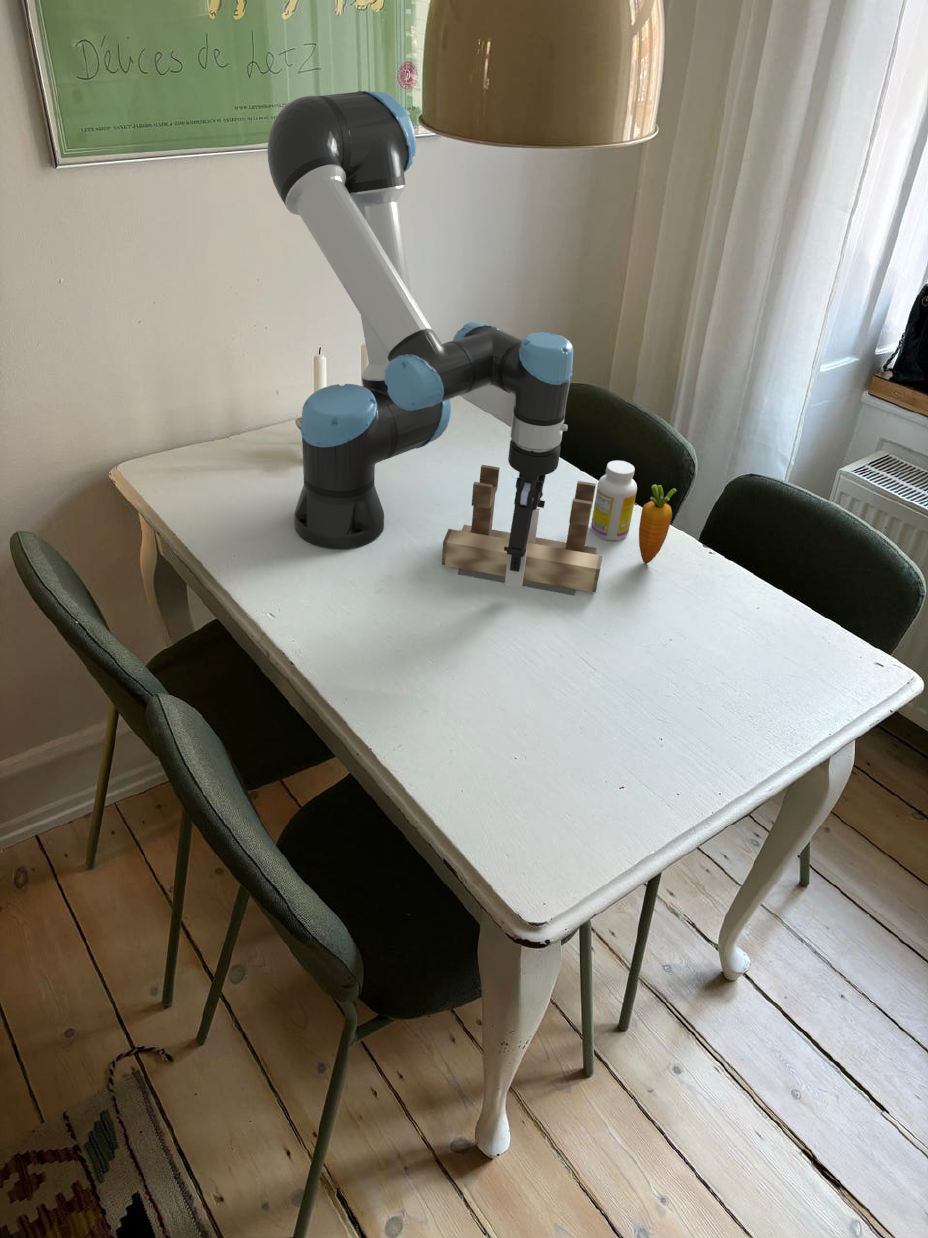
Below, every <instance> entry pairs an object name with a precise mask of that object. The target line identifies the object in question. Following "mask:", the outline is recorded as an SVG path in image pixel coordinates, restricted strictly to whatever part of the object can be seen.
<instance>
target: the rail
mask: <svg viewBox="0 0 928 1238" xmlns="http://www.w3.org/2000/svg"><path fill="white" fill-rule="evenodd" d="M508 544H509V539H504V538H498V537H493V536H487V535H481V534H476V533H470V532H464V531H461V530H457V529H452V528H448V529H447V532H446V533H445V536H444V539H443V540H442V548H441V549H442V550H441V566H444V567H451V568H457V569H459V568H461V569H467V570H472V571H478V572H483V573H489V574H494V575H500V576H505V577H506V568H507V560H508V554H507V551H504V546H505V547H508ZM526 550H527V554H526V561H525V569H524V577H523V580H528V581H533V582H539V583H544V584H550V585H555V586H561V587H566V588H572V589H576V590H579V591H584V592H590V593H597V588H598V582H599V578H600V572H601V567H602V562H603V557H604V556H603V555H599V554H596V555H595V554H589V553H584V552H578V551H572V550H567V549H561V548H555V547H550V546H544V545H538V544H532V543H527V545H526Z"/></svg>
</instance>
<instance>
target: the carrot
mask: <svg viewBox="0 0 928 1238" xmlns="http://www.w3.org/2000/svg"><path fill="white" fill-rule="evenodd" d="M651 492H652V494H653V496H650V498H649V500H651V501H648V502H646V503H644V505H642V509H641V515H640V521H639V526H638V527H639V528H638V547H639V553H640V557H641V560H642V562H643V563H644V565H645V564H647V565H648V564H649V563H650V562H652V560H654V558H656V556H657V555H658V554H659V552H660V551H661V549H662V547H663V544H664V543H665V541H666V538H667V535H668V532H669V529H670V526H671V522H672V518H673V512H672V511H673V510H672V507H671V505H670V504H668V503H667V502H669V501H670V499H671V497H672V496H674V494H676V493H677V489H676V488H672V489H670V491H668V492H667V494H666V495H665V497H664V489H663V487H662V485H661V484H660V485H657V484H652V485H651Z"/></svg>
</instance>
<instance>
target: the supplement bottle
mask: <svg viewBox="0 0 928 1238" xmlns="http://www.w3.org/2000/svg"><path fill="white" fill-rule="evenodd" d="M634 475H635V466H634V465H633V464H631V463H630V462H627V461H625V460H611V461H609V462H608V463H607V465H606V467H605V474H604V475H602V476H601V477H600V478H599V480H598V481H597V487H596V493H595V500H594V503H593V504H594V506H593V511H592V518H591V524H590V529H591V531H592V534H594V535H595V536H596V537H598V538H600V539H602V540H605V541H612V542H613V541H614V542H615V541H620V540H623V539H625V538H626V537H627V536H628V535H629V532H630V528H631V527H630V526H631V521H632V516H633V511H634V505H635V502H636V496H637V491H638V486H637V485H638V484H637V482H636V481H635V480H634V479H633V477H634Z"/></svg>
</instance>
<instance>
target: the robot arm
mask: <svg viewBox="0 0 928 1238" xmlns="http://www.w3.org/2000/svg"><path fill="white" fill-rule="evenodd" d="M414 129H415V128H414V125H413V122H412V120H411V118H410V116H409V114H408V112H407V110H406V109H405V107H404V106H403V105H402V104H400V103H399V101H398V100H397V98H395V96H393V95H391V94H389V93H387V92H383V91H367V90H357V91H354V92H344V93H335V94H334V93H333V94H323V95H307V96H301V97H299V98H296V99H294V100H292V101H290V102H289V103H288V104H286V105H285V106H284V107H283V108H282V109H281V110H280V111H279V113H278V114H277V115H276V117H275V119H274V121H273V123H272V125H271V128H270V131H269V135H268V141H267V162H268V167H269V168H268V169H269V173H270V177H271V179H272V183H273V185H274V187H275V190H276V191H277V194H278V196H279V198H280V199H281V201H282V202H283V203H284V205H285V206H286V209H287V210H288V212H290V213H291V214H293V215H296V216H300V218H301V219H302V221H303V224H304V225H305V227H306V228H307V229H308V231H309V233H310V235H311V236H312V237H313V238H312V239H314V241H315V242H316V244H317V245H318V248H319V249H320V251H321V252H322V254H323V255H324V257H325V259H326V261H327V262H328V264H329V265H330V267H331V268H332V271H333V272H334V273H335V275H336V277H337V278H338V280H339V282H340V283H341V285H342V286H343V288H344V290H345V292H346V293H347V295H348V297H349V298H350V299H351V301H352V303H353V305H354V306H355V308H356V309H357V311H358V312H359V314H360V318H361V325H362V331H363V337H364V341H365V342H364V343H365V348H366V353H367V354H366V355H367V360H368V363H367V366H366V367H365V369H364V370H363V372H362V373H361V381H362V385H359V384H353V383H345V384H344V385H343V384H342V385H340V384H338V383H337V384H332V385H328V386H326V387H322V388H320V389H318V390H316V391H315V392H313V393H312V394H311V395H310V396H308V397H307V399H306V400H305V402H304V403H303V406H302V411H301V422H300V433H301V437H302V469H303V470H302V472H303V486H302V489H301V492H300V494H299V497H298V500H297V503H296V506H295V508H294V530H295V531H296V533H297V534H298V535H299V537H301V539H302V540H305V541H306V542H308V543H310V544H313V545H315V546H319V547H321V548H328V549H338V550H339V549H353V548H358V547H361V546H366V545H368V544H369V543H371V542H373V541H375V540H377V539H378V538H379V537H380V536H381V534H383V531H384V528H385V510H384V508H383V505H382V503H381V500H380V497H379V495H378V491H377V488H376V486H375V485H376V484H375V480H376V479H375V473H376V472H375V471H376V464H377V463H381V462H383V461H386V460H388V459H389V460H390V459H391V458H395V457H396V456H399V455H402V454H404V453H407V452H410V451H412V450H416V449H421V448H423V447H425V446H427V445H429V443H431V442H434V441H436V440H437V439H439V438H440V437H441V436H442V435H443V433H444V432H445V431H446V430H447V428H448V426H449V423H450V420H451V416H452V415H451V414H452V403H451V401H452V400H451V399H454V398H456V397H459V396H462V395H465V394H468V393H470V392H475V391H477V390H480V389H482V388H486V387H488V386H493V387H496V388H497V389H499V390H501V391H504V392H506V393H508V394H511V395H513V396H514V401H513V411H512V417H511V419H512V420H511V427H510V438H511V439H510V441H509V447H508V448H509V450H508V459H507V460H508V464H509V466H510V467H511V468H512V469H513V470H515V471H517V472H518V477H517V478H516V482H515V489H516V491H515V493H514V495H515V497H514V502H513V504H514V509H513V513H512V520H511V527H510V532H509V533H510V538H509V544H508V547H505V546H504V551H507V554H508V560H507V568H506V577H505V583H504V585H508V586H513V587H519V588H522V587H523V586H522V584H523V577H524V569H525V561H526V554H527V550H526V545H527V543H532V544H535V539H536V537H537V533H538V531H537V530H538V524H539V523H538V522H539V517H540V508H542V509H544V508H545V504H546V500H541V499H542V497H543V495H544V493H543V492H544V491H543V488H544V484H545V481H546V475H550V474H552V473H553V472H554V471H556V470H557V468H558V467H559V461H560V454H561V442H562V437H563V432H566V431H568V428H569V427H568V424H565V416H566V408H567V401H568V395H569V391H570V385H571V380H572V377H573V370H574V369H573V363H574V362H573V360H574V346H573V344H572V343H571V341H570V340H568V339H567V338H566V337H564V336H563V335H559V334H558V333H557V334H556V333H555V334H554V333H549V332H547V331H546V332H543V331H541V332H539V331H538V332H533V333H529V334H527V335H525V336H524V337H523V339H521V338H518V337H516V336H514V335H511V334H509V333H507V332H505V331H504V330H501V329H499V328H497V327H496V326H492V325H491V324H485V323H482V322H478V321H471V322H467V323H466V324H464V325H463V326H462V328H461V329H460V330H457V332H456V333H455V334H454V336H453V339H452V340H451V341H447V342H444V343H442V342H441V341H440V338H438V335H437V334H436V333H435V331H434V330H433V328H432V327H431V325H430V324H429V321H428V320H427V319H426V317H425V316H424V314H423V312H422V310H421V309H420V307H419V305H418V304H417V301H416V300H415V299H414V298H413V295H412V289H411V284H410V283H411V281H410V275H409V269H408V268H409V267H408V262H407V254H406V248H405V242H404V241H405V240H404V232H403V226H402V220H401V213H400V206H399V205H400V204H399V198H400V196H401V195H402V193H403V192H404V190H405V189H406V187H407V184H406V179H405V173H406V172H407V171H408V170H409V169H410V168H411V166H412V165H413V162H414V158H413V157H415V156H416V153H417V139H416V132H415V130H414Z"/></svg>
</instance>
